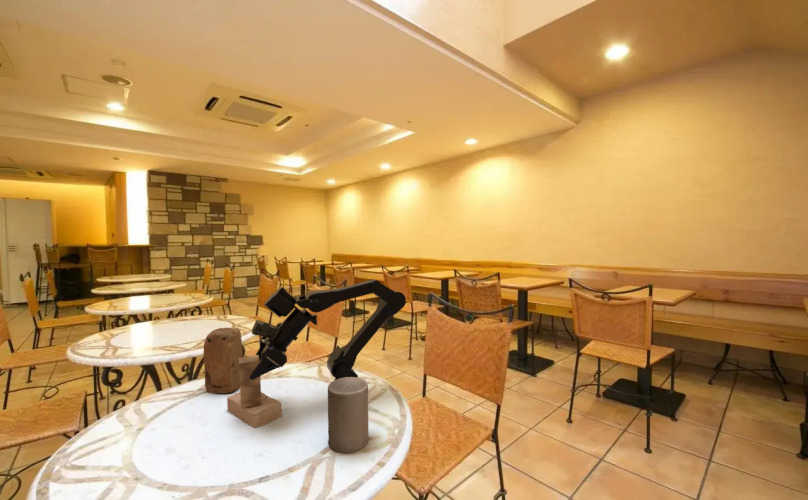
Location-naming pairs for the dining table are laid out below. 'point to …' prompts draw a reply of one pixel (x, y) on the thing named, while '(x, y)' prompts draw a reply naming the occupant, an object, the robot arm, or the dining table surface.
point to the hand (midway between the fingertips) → (250, 372)
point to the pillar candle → (348, 414)
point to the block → (222, 360)
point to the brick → (255, 410)
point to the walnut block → (249, 382)
